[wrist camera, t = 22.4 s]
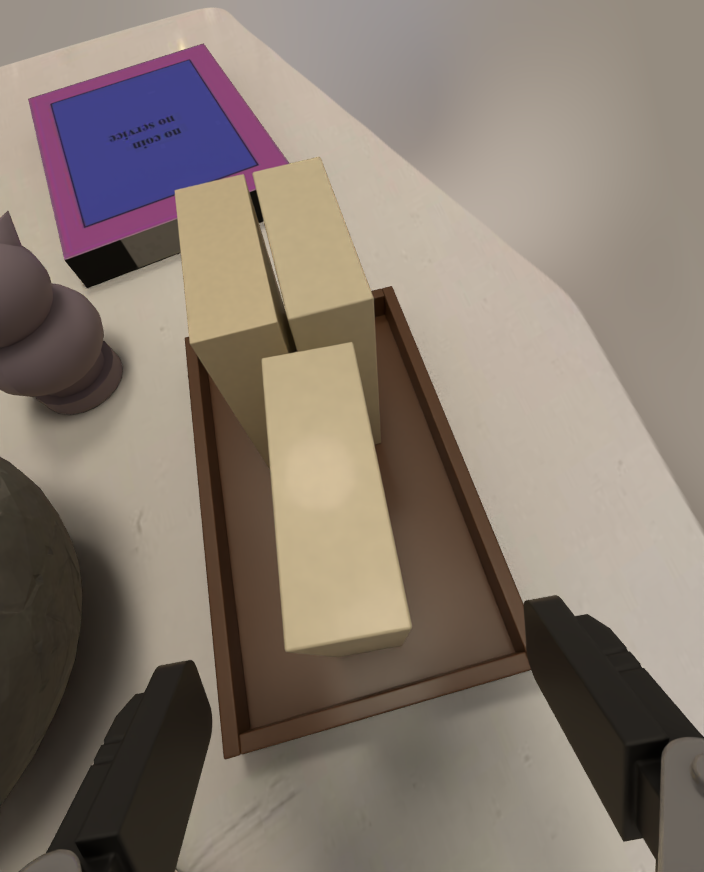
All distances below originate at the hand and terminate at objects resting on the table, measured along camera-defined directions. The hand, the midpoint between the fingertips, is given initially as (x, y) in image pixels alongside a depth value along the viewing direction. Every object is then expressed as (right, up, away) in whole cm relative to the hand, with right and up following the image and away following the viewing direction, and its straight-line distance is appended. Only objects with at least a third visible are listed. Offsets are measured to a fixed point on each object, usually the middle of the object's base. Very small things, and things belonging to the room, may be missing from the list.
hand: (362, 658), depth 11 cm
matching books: (-3, +8, +20) cm, 22 cm away
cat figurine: (-21, +10, +24) cm, 34 cm away
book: (-21, +35, +37) cm, 55 cm away
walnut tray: (-2, +2, +18) cm, 18 cm away
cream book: (0, -2, +15) cm, 15 cm away
